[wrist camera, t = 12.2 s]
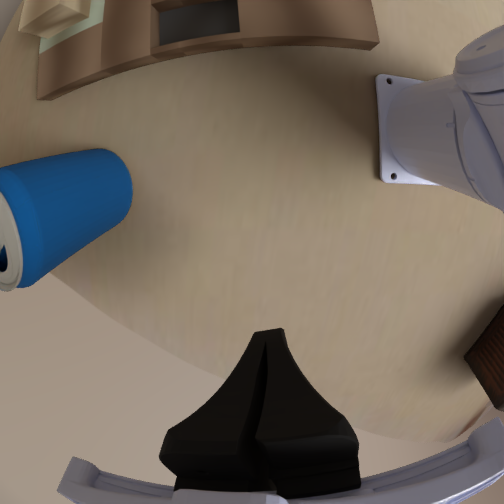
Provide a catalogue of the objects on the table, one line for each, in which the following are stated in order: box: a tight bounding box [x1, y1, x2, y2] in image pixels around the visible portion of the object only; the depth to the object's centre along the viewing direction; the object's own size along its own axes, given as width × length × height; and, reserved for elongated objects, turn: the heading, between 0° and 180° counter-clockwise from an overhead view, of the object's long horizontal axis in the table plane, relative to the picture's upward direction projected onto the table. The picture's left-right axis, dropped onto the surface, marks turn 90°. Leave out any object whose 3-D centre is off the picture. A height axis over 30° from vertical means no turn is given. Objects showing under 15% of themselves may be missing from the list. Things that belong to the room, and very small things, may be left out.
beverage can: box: [0, 149, 133, 291], centre depth 14 cm, size 6×6×12 cm
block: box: [18, 0, 91, 39], centre depth 10 cm, size 4×4×4 cm
